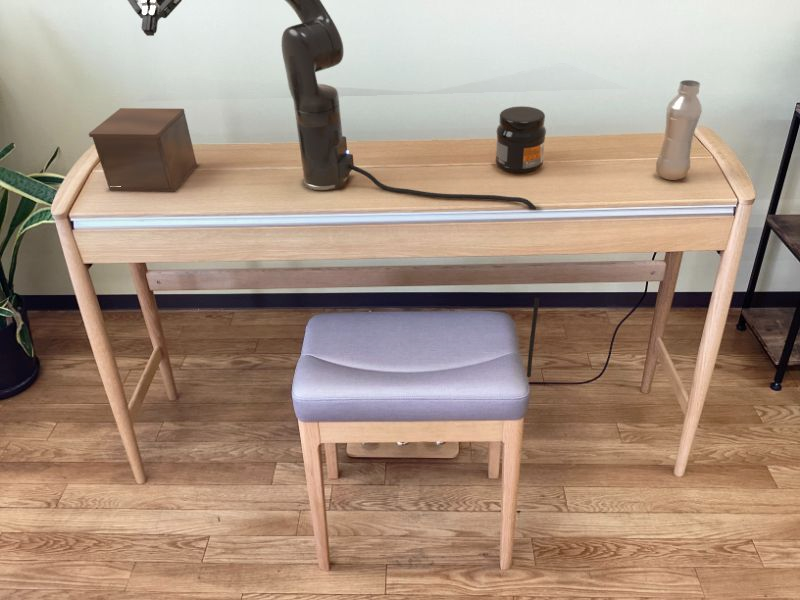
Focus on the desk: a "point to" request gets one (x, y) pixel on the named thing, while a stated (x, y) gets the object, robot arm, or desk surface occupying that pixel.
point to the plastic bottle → (679, 132)
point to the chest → (148, 160)
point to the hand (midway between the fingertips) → (148, 33)
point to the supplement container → (520, 140)
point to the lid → (137, 123)
